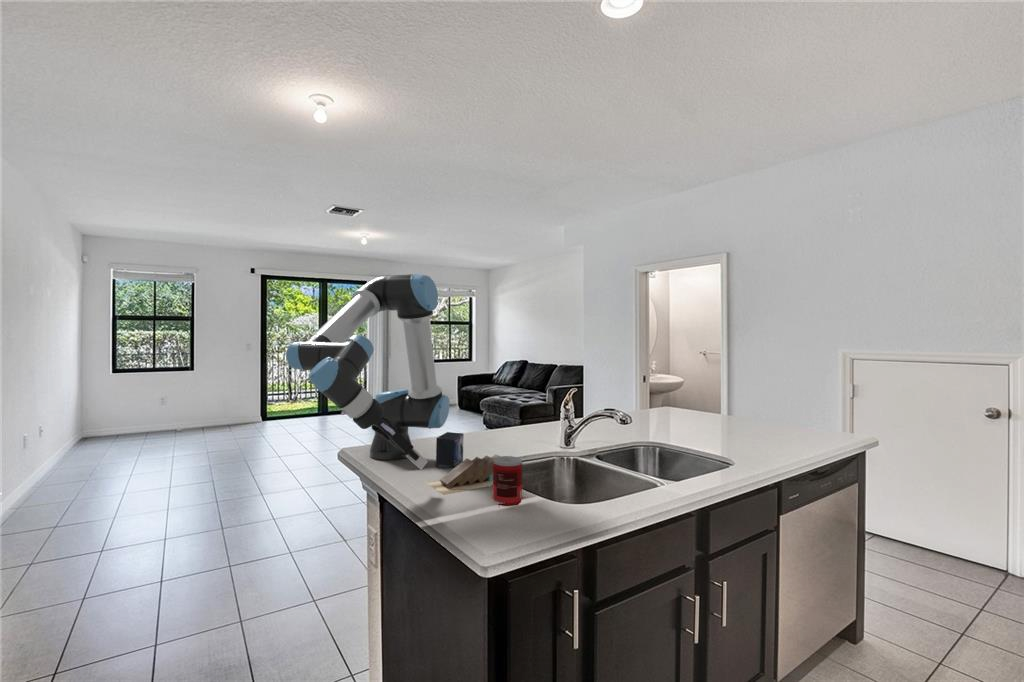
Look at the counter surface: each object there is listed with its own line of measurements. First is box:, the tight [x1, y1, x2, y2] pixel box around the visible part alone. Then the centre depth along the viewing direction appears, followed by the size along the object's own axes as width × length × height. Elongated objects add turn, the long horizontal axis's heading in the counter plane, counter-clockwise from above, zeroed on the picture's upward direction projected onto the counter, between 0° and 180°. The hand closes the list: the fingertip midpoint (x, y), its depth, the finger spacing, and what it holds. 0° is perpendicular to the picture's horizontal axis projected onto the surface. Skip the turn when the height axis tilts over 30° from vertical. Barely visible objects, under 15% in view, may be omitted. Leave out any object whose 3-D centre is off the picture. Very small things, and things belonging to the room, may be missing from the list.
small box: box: [435, 431, 464, 470], centre depth 161 cm, size 11×6×10 cm, turn 168°
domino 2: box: [456, 456, 487, 487], centre depth 141 cm, size 5×2×10 cm
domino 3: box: [467, 455, 494, 485], centre depth 143 cm, size 5×2×10 cm
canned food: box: [492, 455, 523, 507], centre depth 128 cm, size 8×8×11 cm
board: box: [425, 479, 493, 495], centre depth 140 cm, size 12×17×1 cm
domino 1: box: [438, 458, 477, 489], centre depth 139 cm, size 5×2×10 cm
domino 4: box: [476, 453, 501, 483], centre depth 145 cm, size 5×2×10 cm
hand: (423, 465), depth 133 cm, fingers closed
